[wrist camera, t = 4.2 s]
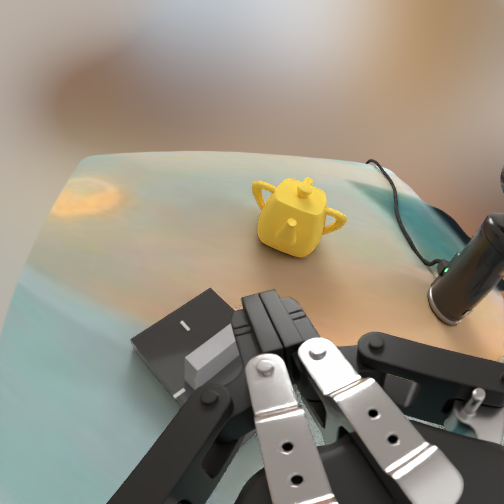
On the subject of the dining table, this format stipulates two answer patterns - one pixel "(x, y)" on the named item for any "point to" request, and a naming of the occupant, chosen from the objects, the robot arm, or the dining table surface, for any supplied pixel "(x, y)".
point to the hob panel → (186, 344)
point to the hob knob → (210, 357)
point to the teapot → (294, 216)
